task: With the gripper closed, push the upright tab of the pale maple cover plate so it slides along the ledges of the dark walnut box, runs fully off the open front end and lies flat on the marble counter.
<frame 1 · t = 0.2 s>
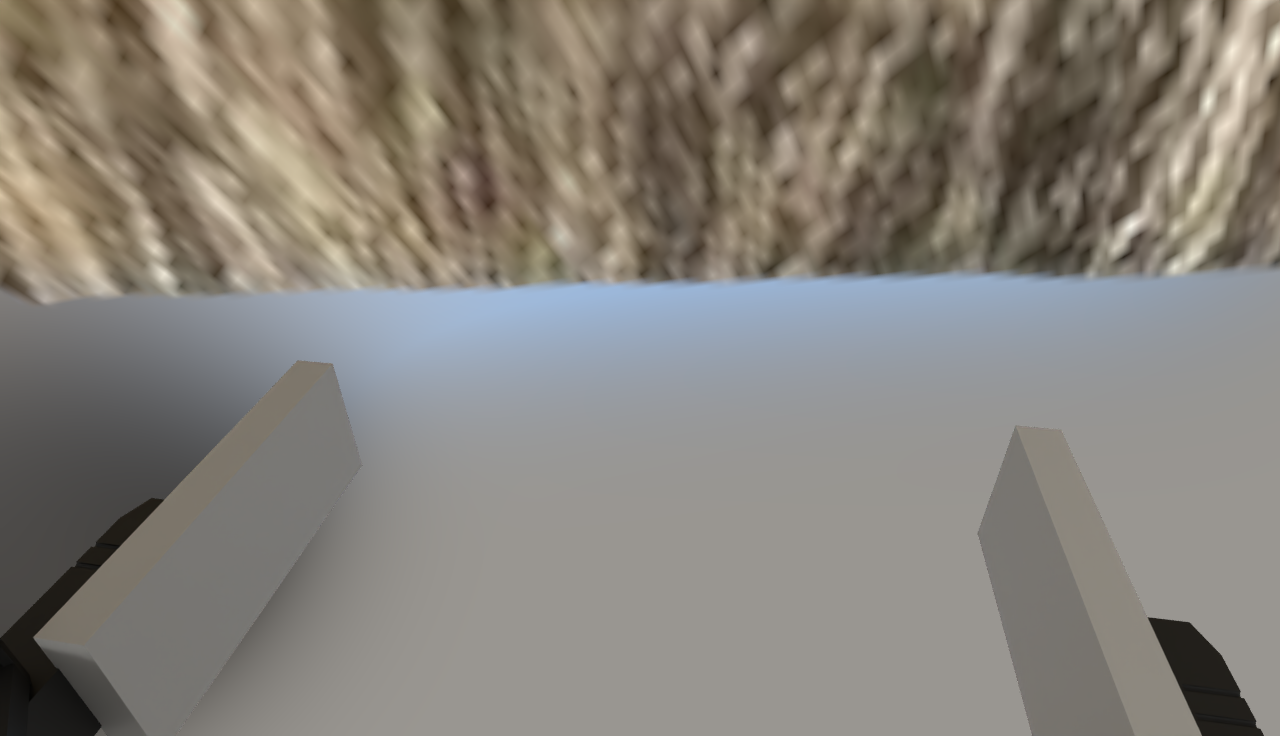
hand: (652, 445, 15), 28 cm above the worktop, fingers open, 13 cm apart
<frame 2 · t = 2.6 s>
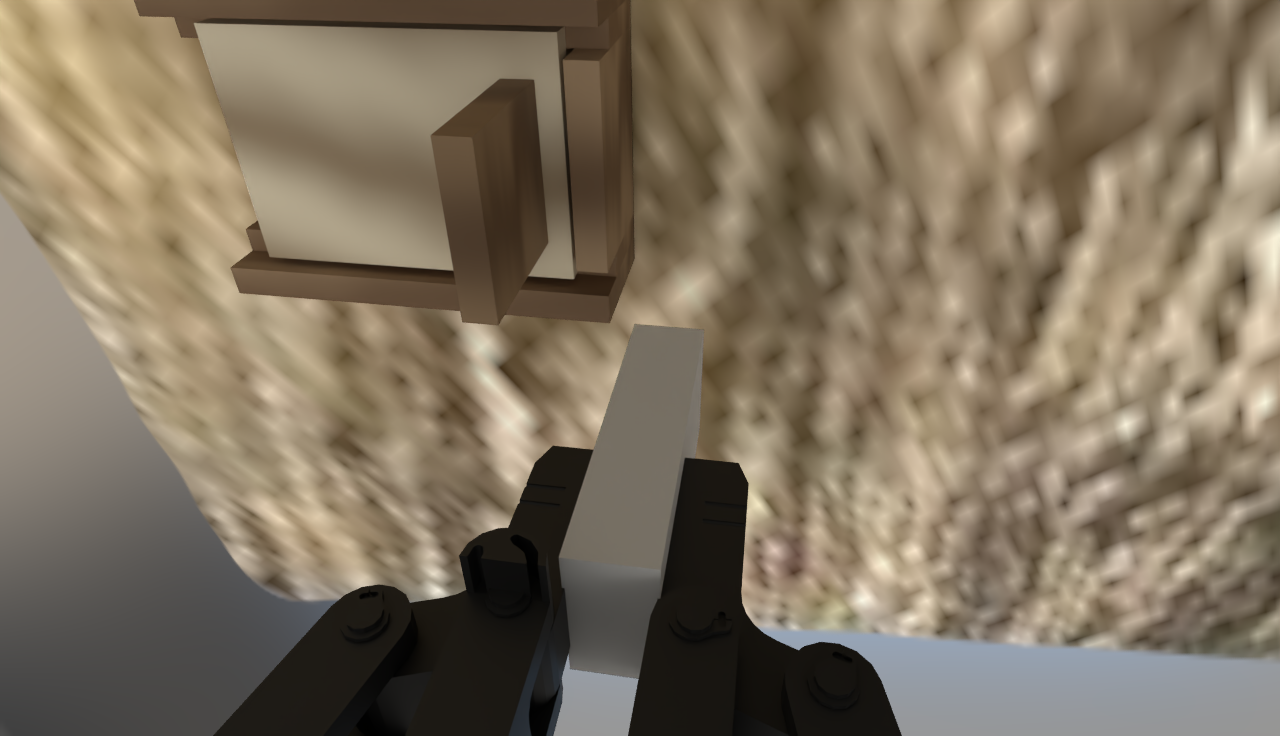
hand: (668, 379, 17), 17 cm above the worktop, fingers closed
walnut box: (445, 117, 32), on the worktop
cover plate: (406, 149, 29), point 4 cm above the worktop, touching walnut box
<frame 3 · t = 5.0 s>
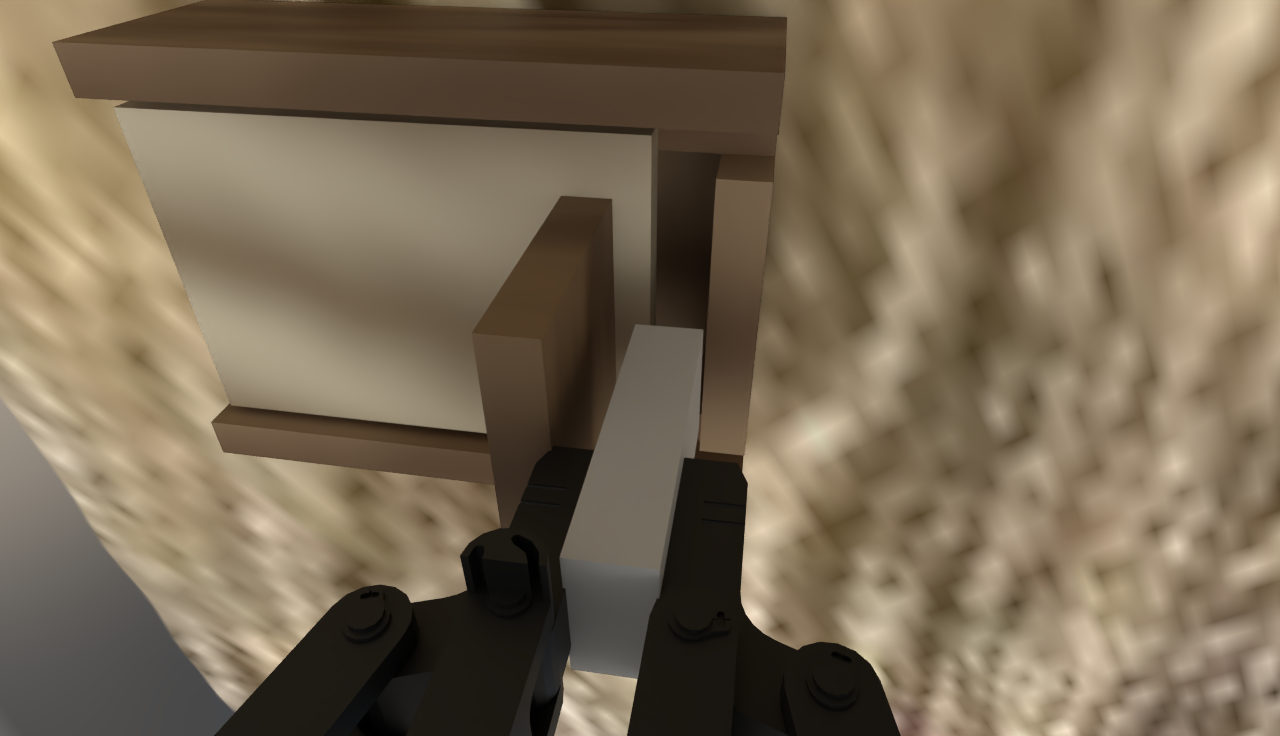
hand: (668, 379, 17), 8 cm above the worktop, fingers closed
walnut box: (505, 217, 24), on the worktop
cover plate: (419, 276, 21), point 4 cm above the worktop, touching gripper, walnut box
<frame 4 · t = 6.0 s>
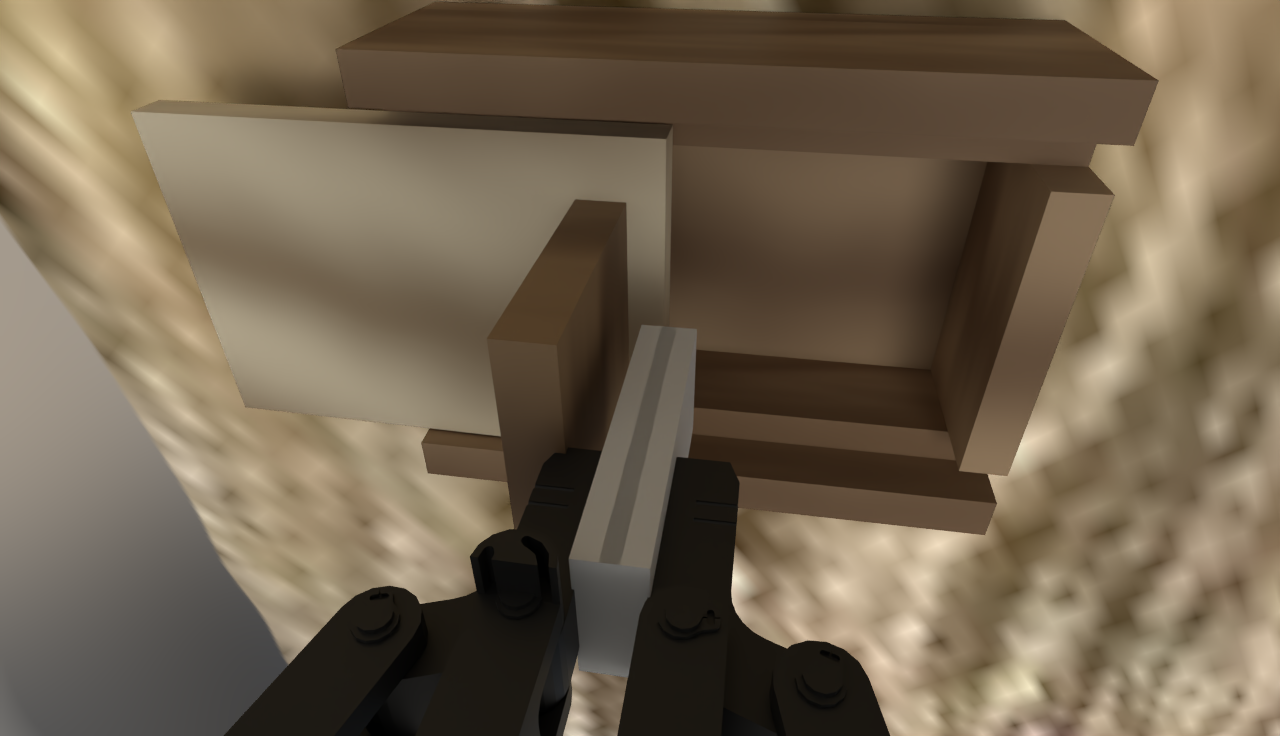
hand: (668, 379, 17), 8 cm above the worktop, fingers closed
walnut box: (719, 227, 23), on the worktop
cover plate: (433, 279, 21), point 4 cm above the worktop, touching gripper
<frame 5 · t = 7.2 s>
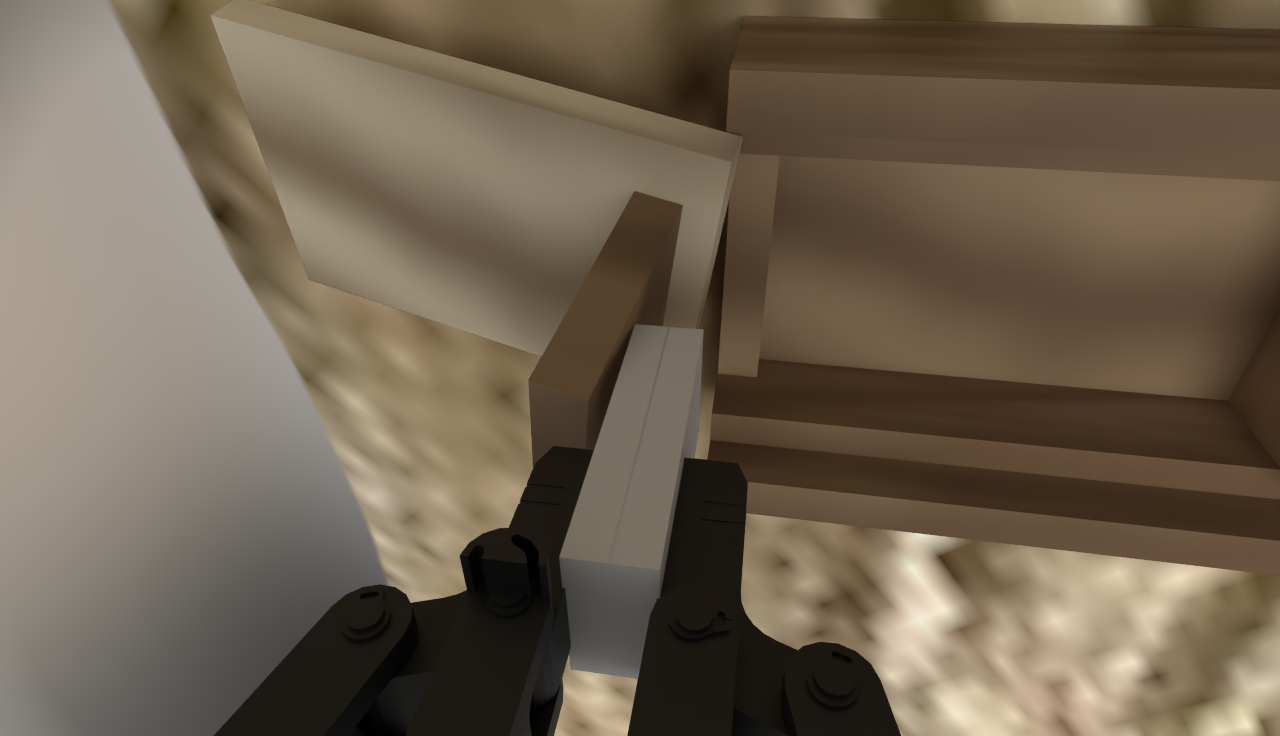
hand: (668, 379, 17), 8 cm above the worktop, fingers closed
walnut box: (1010, 251, 22), on the worktop
cover plate: (491, 211, 21), point 2 cm above the worktop, tilted 18°, touching gripper
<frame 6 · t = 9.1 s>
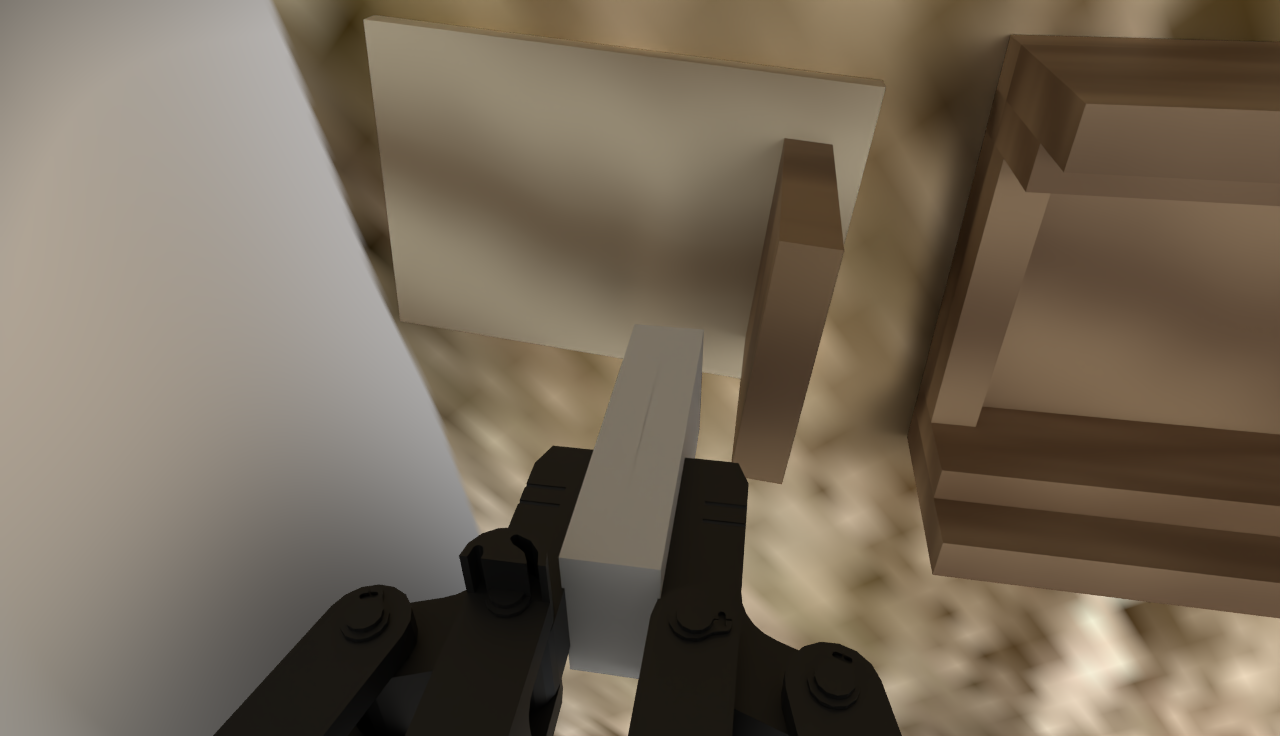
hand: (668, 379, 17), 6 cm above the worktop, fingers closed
walnut box: (1272, 291, 20), on the worktop
cover plate: (613, 208, 22), on the worktop
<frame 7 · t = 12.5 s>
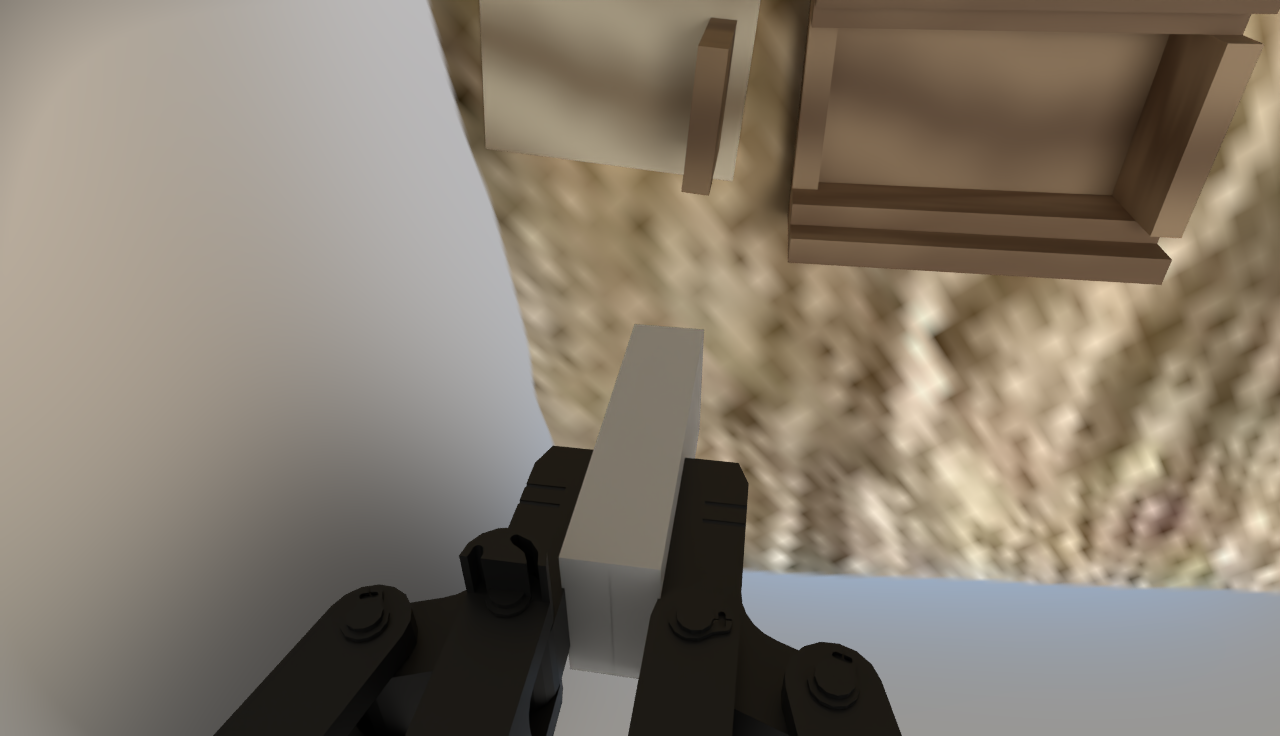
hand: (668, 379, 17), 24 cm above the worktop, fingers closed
walnut box: (975, 102, 35), on the worktop
cover plate: (616, 69, 37), on the worktop
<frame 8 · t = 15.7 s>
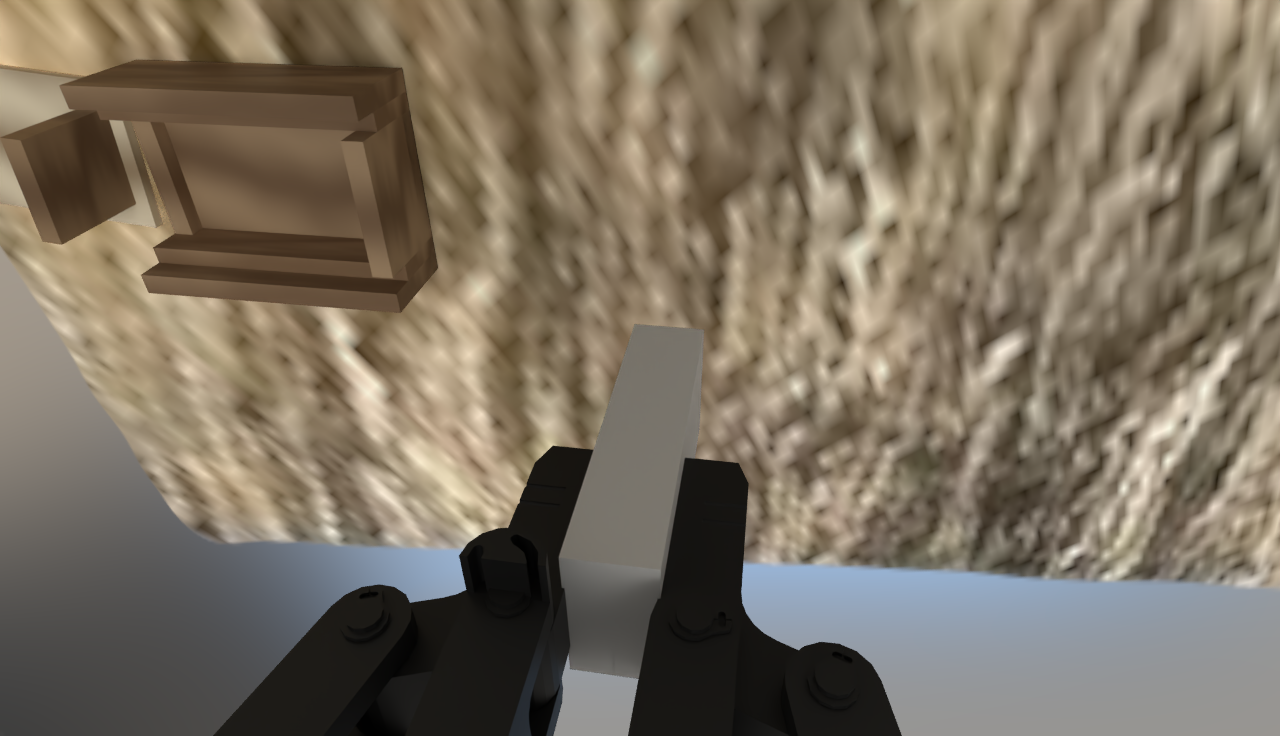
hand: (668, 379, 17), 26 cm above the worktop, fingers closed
walnut box: (294, 169, 45), on the worktop
cover plate: (50, 140, 47), on the worktop
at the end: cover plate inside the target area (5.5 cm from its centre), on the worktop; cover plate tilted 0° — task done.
